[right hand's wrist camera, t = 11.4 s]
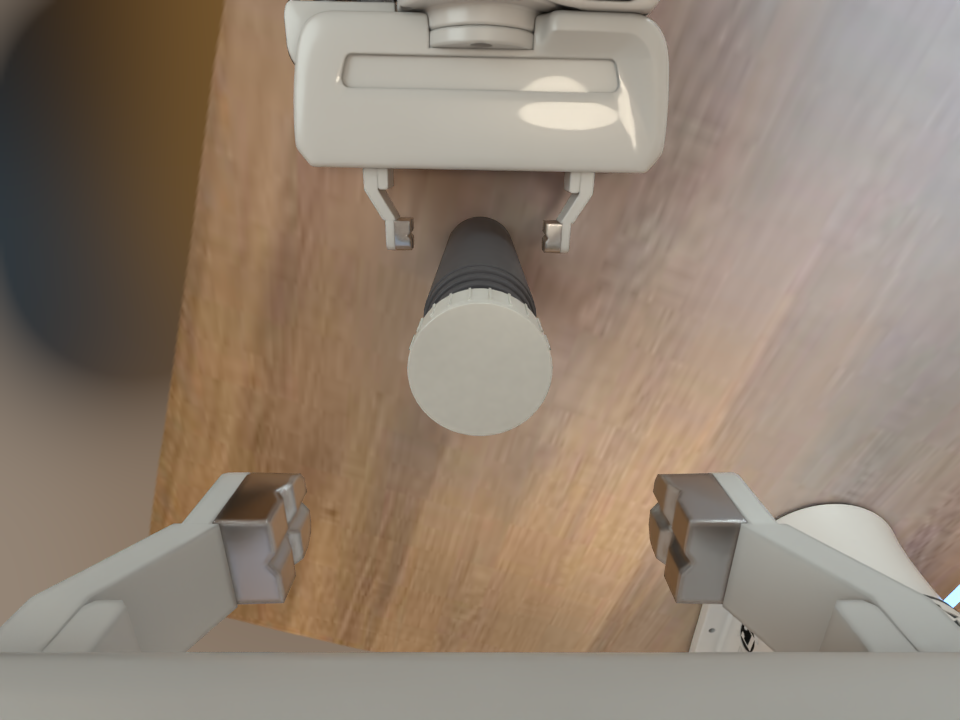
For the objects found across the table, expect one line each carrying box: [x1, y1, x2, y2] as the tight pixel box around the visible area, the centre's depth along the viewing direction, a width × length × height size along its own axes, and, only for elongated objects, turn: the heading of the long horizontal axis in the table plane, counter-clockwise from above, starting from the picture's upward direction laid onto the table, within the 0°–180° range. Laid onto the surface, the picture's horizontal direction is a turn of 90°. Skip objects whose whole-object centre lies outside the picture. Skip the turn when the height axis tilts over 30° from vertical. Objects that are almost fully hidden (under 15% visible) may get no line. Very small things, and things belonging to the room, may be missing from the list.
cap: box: [407, 288, 553, 436], centre depth 17 cm, size 5×5×2 cm
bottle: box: [424, 217, 536, 317], centre depth 27 cm, size 5×5×22 cm
